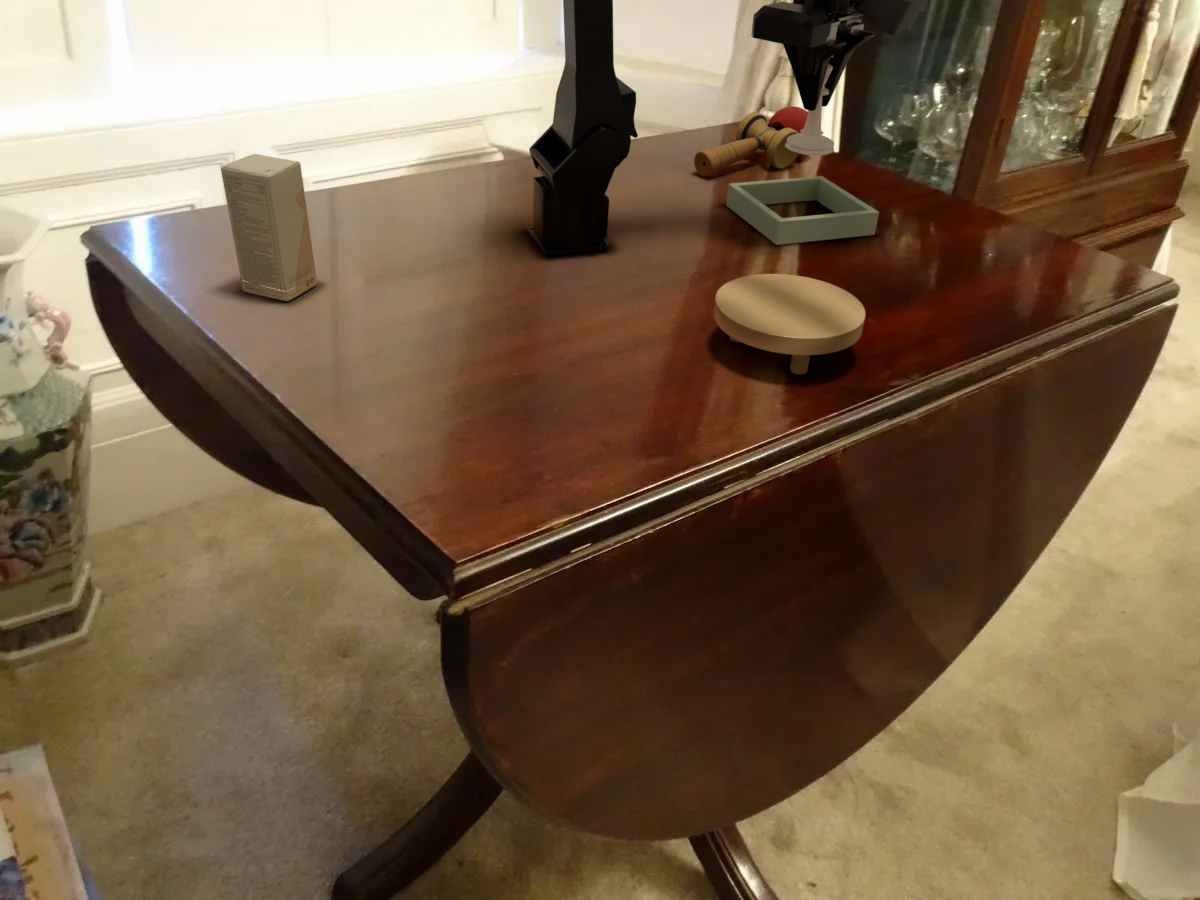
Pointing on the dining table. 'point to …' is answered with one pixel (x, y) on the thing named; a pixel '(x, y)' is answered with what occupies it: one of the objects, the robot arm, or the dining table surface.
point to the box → (270, 225)
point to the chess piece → (812, 130)
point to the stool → (789, 316)
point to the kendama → (756, 141)
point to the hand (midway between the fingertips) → (815, 107)
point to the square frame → (843, 223)
